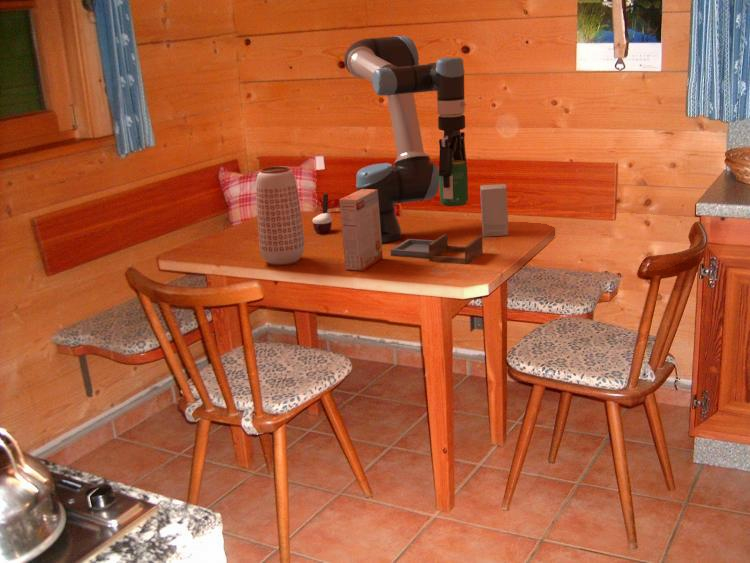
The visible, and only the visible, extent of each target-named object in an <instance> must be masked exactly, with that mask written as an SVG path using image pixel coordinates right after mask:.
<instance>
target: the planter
mask: <svg viewBox="0 0 750 563" xmlns="http://www.w3.org/2000/svg"><path fill="white" fill-rule="evenodd" d="M255 183H256V184H255V185H256V187H255V188H256V192H255V194H256V196H255V197H256V219H257V230H258V241H259V242H258V243H259V250H260V254H261V255H262V256H261V257H263V259H264V260H265V261H266V262H268V263H269V265H270V266H277V267H282V266H283V267H284V266H290V265H294V264H297V263H298V262H299V260H300V259H301V258H302V255H303V254H304V251H305V244H306V243H305V234H304V227H303V218H302V210H301V205H300V203H301V202H300V198H299V196H300V195H299V191H298V187H297V186H298V185H297V181H296V176H295V174H294V172H293V171H292V169H290V168H289V167H288V166H284V165H283V166H282V165H280V166H279V165H277V166H268V167H264V168H261V169H260V171H259V172H258V174H257V176H256V182H255Z"/></svg>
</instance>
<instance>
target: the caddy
mask: <svg viewBox="0 0 750 563" xmlns="http://www.w3.org/2000/svg"><path fill="white" fill-rule="evenodd" d="M448 241H449V240H448V233H444V234H443V235H441V236H439V237H438V238H436V239H435V240H434V241H433V242H432V243H430V244H429V258H428V260H429V262H435V263H449V264H451V263H452V264H462V265H469V264H470V263H472V262H473V261H475V259H476V258H478V257H480V255H483V253H484V252H483V235H482V236H480V235H479V236H477V237H475V239H473V240H472V241H471V242H469V243H468V244H467V245H465V246H459V245H458V246H457V245H449V244H448V243H449V242H448ZM447 252H450V253H451V252H452V253H464V257H463V256H462V257H460V256H458V257H457V256H445V255H443V254H445V253H447Z"/></svg>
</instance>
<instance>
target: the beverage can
mask: <svg viewBox="0 0 750 563" xmlns="http://www.w3.org/2000/svg"><path fill="white" fill-rule="evenodd" d="M451 176H453V199H443V176H439V201H440V203H441V206H443V207H452V208H453V207H454V208H455V207H462V206H466V205H467V202H468V201H469V187H468V186H469V185H468V184H469V180H468V177H469V176H468V165H467V163H466V164H465V161H462V160H453V162H452V171H451Z"/></svg>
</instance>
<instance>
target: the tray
mask: <svg viewBox="0 0 750 563" xmlns="http://www.w3.org/2000/svg"><path fill="white" fill-rule="evenodd" d="M433 241H435V240H431V239H416V238H407V239H406V240H404V241H402V242H401V243H399V244H398V245H396V246H395V247H393V248H392V249H390V256H392V257H404V258H405V257H406V258H418V259H419V258H420V259H429V244H430V243H432V242H433Z"/></svg>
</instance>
